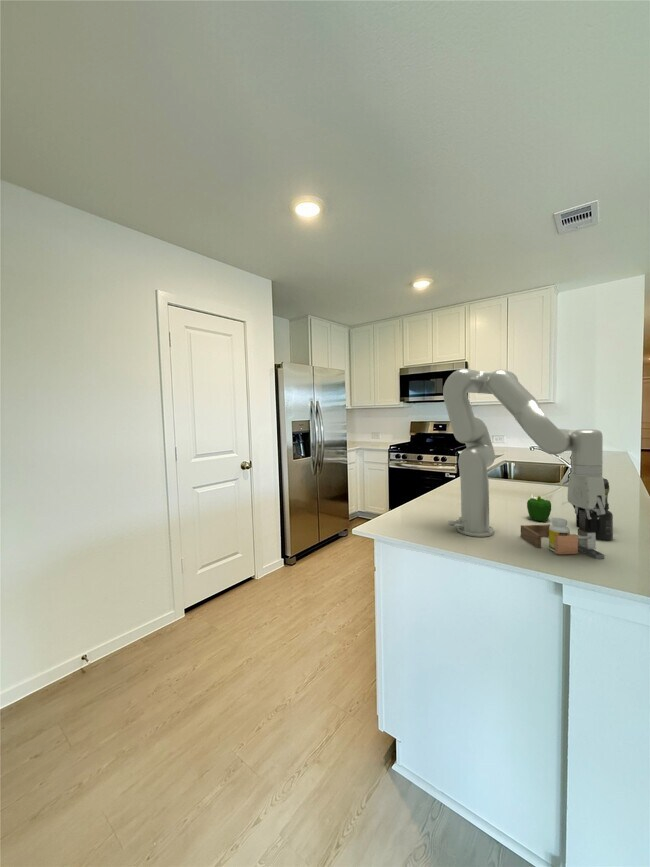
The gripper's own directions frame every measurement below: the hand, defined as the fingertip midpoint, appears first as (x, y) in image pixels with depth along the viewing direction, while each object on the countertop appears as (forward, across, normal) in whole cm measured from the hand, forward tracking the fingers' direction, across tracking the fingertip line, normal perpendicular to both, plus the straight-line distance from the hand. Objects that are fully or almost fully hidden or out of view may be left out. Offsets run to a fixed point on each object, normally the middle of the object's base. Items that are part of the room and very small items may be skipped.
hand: (586, 528), depth 106 cm
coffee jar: (+7, -21, +18) cm, 29 cm away
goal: (+7, -9, -7) cm, 14 cm away
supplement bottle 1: (+7, -2, -7) cm, 10 cm away
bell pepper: (+7, -32, +4) cm, 33 cm away
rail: (+7, -3, 0) cm, 8 cm away
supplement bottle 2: (+7, -11, +13) cm, 19 cm away
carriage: (+7, 0, -4) cm, 8 cm away
